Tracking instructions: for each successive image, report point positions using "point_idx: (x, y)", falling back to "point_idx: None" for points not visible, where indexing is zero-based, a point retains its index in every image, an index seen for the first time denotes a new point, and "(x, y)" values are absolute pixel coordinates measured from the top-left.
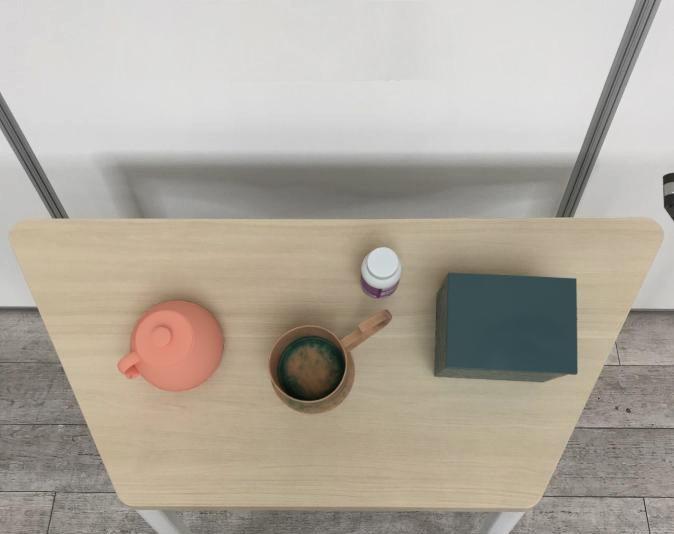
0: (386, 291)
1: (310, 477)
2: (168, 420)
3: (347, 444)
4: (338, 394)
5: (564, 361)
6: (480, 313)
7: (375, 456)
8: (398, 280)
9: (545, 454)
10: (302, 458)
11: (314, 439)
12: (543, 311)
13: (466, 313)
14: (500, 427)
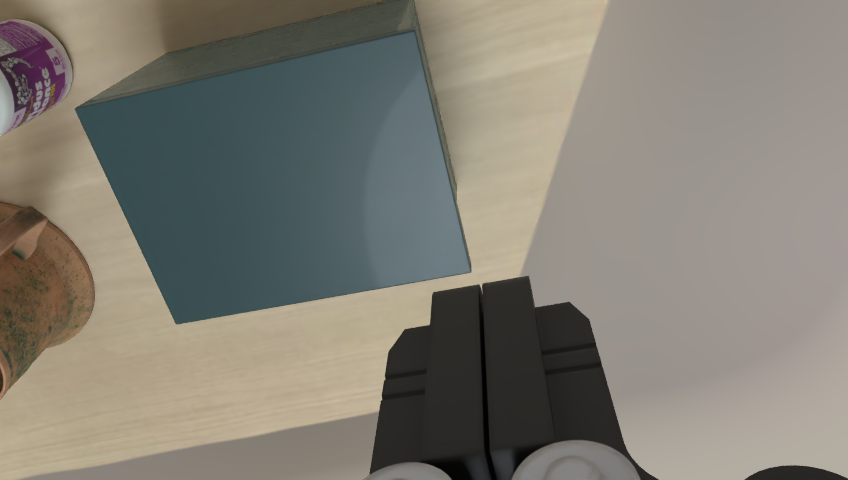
0: (19, 125)
1: (106, 429)
2: None
3: (137, 373)
4: (66, 319)
5: (433, 253)
6: (198, 192)
7: (192, 380)
8: (14, 110)
9: None
10: (78, 407)
11: (80, 378)
12: (350, 147)
13: (165, 201)
14: (394, 289)
